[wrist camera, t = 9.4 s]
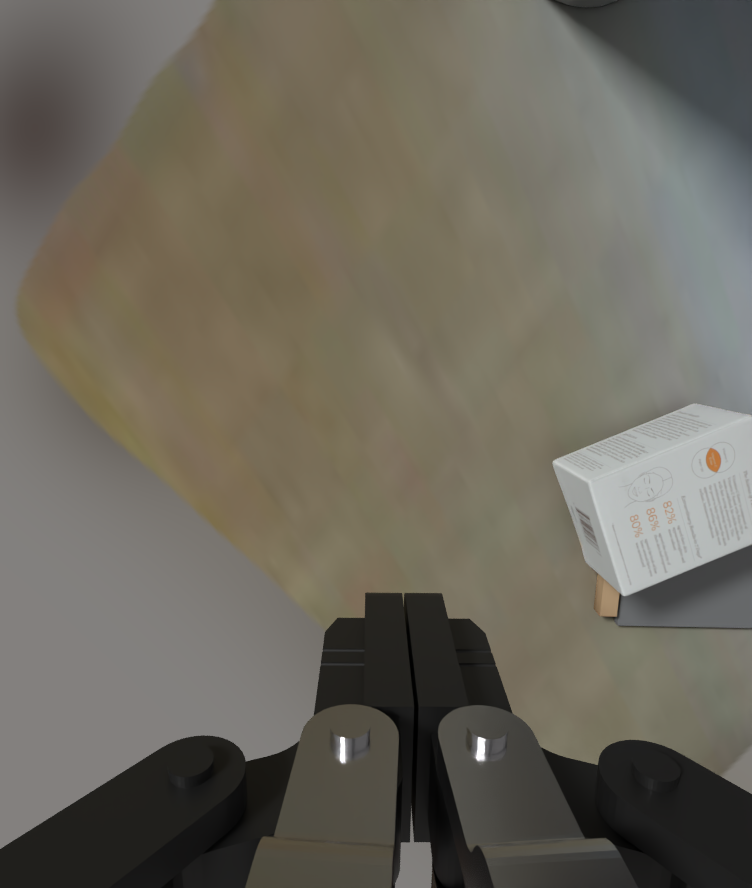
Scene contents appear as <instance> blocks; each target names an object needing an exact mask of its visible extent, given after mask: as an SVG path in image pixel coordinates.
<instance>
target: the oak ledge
mask: <svg viewBox="0 0 752 888" xmlns="http://www.w3.org/2000/svg"><path fill="white" fill-rule="evenodd" d="M618 602H619V592H618V591H617V590H616V589H615V588H614V587H613V586H611V585H610V584H609V583H608V582H607V581H606V580H605V579H604V578H603V577H601V576H600V575H599V574H598V575H597V584H596V593H595V602H594V609H595V610H596V612H597V613H598V614H599V616H613V617H617V610H618Z"/></svg>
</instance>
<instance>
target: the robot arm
mask: <svg viewBox="0 0 752 888" xmlns="http://www.w3.org/2000/svg"><path fill="white" fill-rule="evenodd" d="M557 1H559V2H562V3H564V4H566V5H570V6H577V7H583V8H586V7H598V6H603V5H606V4H609V3H612V2H615V1H618V0H557ZM411 808H412V821H413V833H414V842H430V843H431V853H432V879H431V888H752V794H750V793H749V792H747V791H745V790H743V789H741V788H740V787H738V786H736V785H735V784H733V783H731V782H729V781H727V780H725V779H724V778H722V777H720V776H719V775H717V774H715V773H713V772H712V771H710V770H708V769H706V768H705V767H703V766H701V765H699V764H698V763H696V762H694V761H692V760H691V759H689V758H687V757H685V756H683V755H682V754H680V753H678V752H676V751H674V750H672V749H670V748H667V747H665V746H662V745H659V744H656V743H652V742H647V741H640V740H625V741H619V742H616V743H613V744H611V745H609V746H607V747H606V748H605V749H604V750H603V751H602V753H601V755H600V757H599V762H598V765H595V764H590V763H586V762H582V761H578V760H574V759H570V758H566V757H563V756H559V755H557V754H554V753H552V752H549V751H547V750H545V749H543V748H541V747H540V745H539V743H538V741H537V739H536V737H535V735H534V733H533V731H532V730H531V728H530V727H529V726H528V725H527V724H526V723H525V722H524V721H523V720H522V719H520V718H519V717H517V716H516V715H514V714H513V713H512V710H511V708H510V705H509V702H508V699H507V696H506V693H505V690H504V687H503V684H502V681H501V678H500V675H499V672H498V669H497V667H496V666H495V661H494V658H493V655H492V653H491V649H490V646H489V643H488V640H487V637H486V634H485V633H484V632H483V631H482V630H481V629H480V628H479V627H478V626H477V625H476V624H474V623H473V622H472V621H471V620H470V619H448V616H447V612H446V608H445V604H444V600H443V596H442V593H405V594H404V607H403V598H402V593H365V618H337V619H336V621H335V622H334V623H333V624H332V625H331V626H330V627H329V628H328V629H327V630H326V632H325V637H324V645H323V652H322V660H321V667H320V674H319V682H318V689H317V696H316V703H315V711H314V716H313V717H312V718H311V719H310V720H309V721H308V722H307V723H306V725H305V726H304V728H303V731H302V734H301V737H300V741H299V742H297V743H296V744H295V745H293V746H292V747H290V748H288V749H287V750H284V751H282V752H280V753H277V754H274V755H271V756H267V757H263V758H259V759H255V760H251V761H247V762H245V757H244V755H243V752H242V751H241V750H240V749H239V747H238V746H236V745H235V744H234V743H232V742H230V741H228V740H226V739H223V738H220V737H215V736H194V737H188V738H184V739H181V740H177V741H175V742H172V743H170V744H168V745H166V746H164V747H162V748H161V749H159V750H157V751H156V752H154V753H153V754H151V755H149V756H148V757H146V758H145V759H143V760H142V761H140V762H138V763H137V764H135V765H133V766H132V767H130V768H129V769H127V770H125V771H124V772H122V773H121V774H119V775H117V776H116V777H115V778H113V779H111V780H110V781H108V782H107V783H105V784H103V785H102V786H100V787H98V788H97V789H95V790H94V791H92V792H90V793H89V794H87V795H86V796H84V797H83V798H81V799H79V800H78V801H76V802H75V803H73V804H71V805H70V806H68V807H66V808H65V809H63V810H62V811H60V812H58V813H57V814H55V815H54V816H52V817H51V818H49V819H47V820H46V821H44V822H43V823H41V824H39V825H38V826H36V827H35V828H33V829H32V830H30V831H28V832H27V833H25V834H23V835H22V836H20V837H19V838H17V839H15V840H14V841H12V842H11V843H9V844H8V845H6V846H4V847H3V848H2V849H0V888H395V882H396V880H397V878H398V875H399V871H400V847H401V842H410V819H411Z"/></svg>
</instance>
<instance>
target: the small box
mask: <svg viewBox="0 0 752 888" xmlns="http://www.w3.org/2000/svg"><path fill="white" fill-rule="evenodd" d="M553 467H554V470H555V473H556V476H557V478H558V481H559V484H560V486H561V489H562V492H563V495H564V497H565V500H566V503H567V506H568V508H569V511H570V514H571V517H572V520H573V523H574V526H575V529H576V532H577V535H578V538H579V541H580V544H581V547H582V551H583V555H584V558H585V562H586V563H587V564H588V565H589V566H590V567H591V568H593V569H594V570H595V571H596V572H597V573H598V574H599V575H600V576H601V577H603V578H604V579H605V580H606V581H607V582H608V583H609V584H610V585H611V586H613V587H614V588H615V589H616V590H617V591H618V592H619V593H620V594H621V595H622V596H628V595H631V594H634V593H636V592H638V591H641V590H643V589H645V588H648V587H650V586H653V585H655V584H657V583H660V582H662V581H665V580H667V579H670V578H672V577H674V576H677V575H679V574H682V573H684V572H686V571H689V570H691V569H693V568H696V567H698V566H701V565H703V564H706V563H708V562H711V561H713V560H715V559H718V558H720V557H723V556H725V555H728V554H730V553H733V552H735V551H738V550H740V549H742V548H745V547H747V546H750V545H752V415H749V414H743V413H739V412H734V411H729V410H724V409H720V408H715V407H711V406H706V405H700V404H696V403H695V404H691V405H689V406H686V407H684V408H681V409H679V410H676V411H674V412H671V413H669V414H667V415H664V416H662V417H659V418H657V419H654V420H652V421H649V422H647V423H644V424H642V425H639V426H637V427H634V428H631V429H629V430H627V431H624V432H622V433H620V434H617V435H614V436H612V437H609V438H607V439H605V440H602V441H600V442H597V443H595V444H592V445H589V446H587V447H585V448H582V449H580V450H577V451H575V452H572V453H570V454H568V455H565V456H563V457H560V458H558V459H556V460H554V461H553Z"/></svg>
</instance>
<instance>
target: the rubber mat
mask: <svg viewBox="0 0 752 888" xmlns="http://www.w3.org/2000/svg"><path fill="white" fill-rule="evenodd" d="M614 622H615V623H616V624H617V625H620V626H671V627H721V628H752V545H750V546H747V547H745V548H742V549H740V550H738V551H735V552H733V553H730V554H728V555H725V556H723V557H720V558H718V559H715V560H713V561H711V562H708V563H706V564H703V565H701V566H698V567H696V568H693V569H691V570H689V571H686V572H684V573H682V574H679V575H677V576H674V577H672V578H670V579H667V580H665V581H662V582H660V583H657V584H655V585H653V586H650V587H648V588H645V589H643V590H641V591H638V592H636V593H634V594H631V595H628V596H622V595H621V594H620V593H619V602H618V610H617V617H615V619H614Z"/></svg>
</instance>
